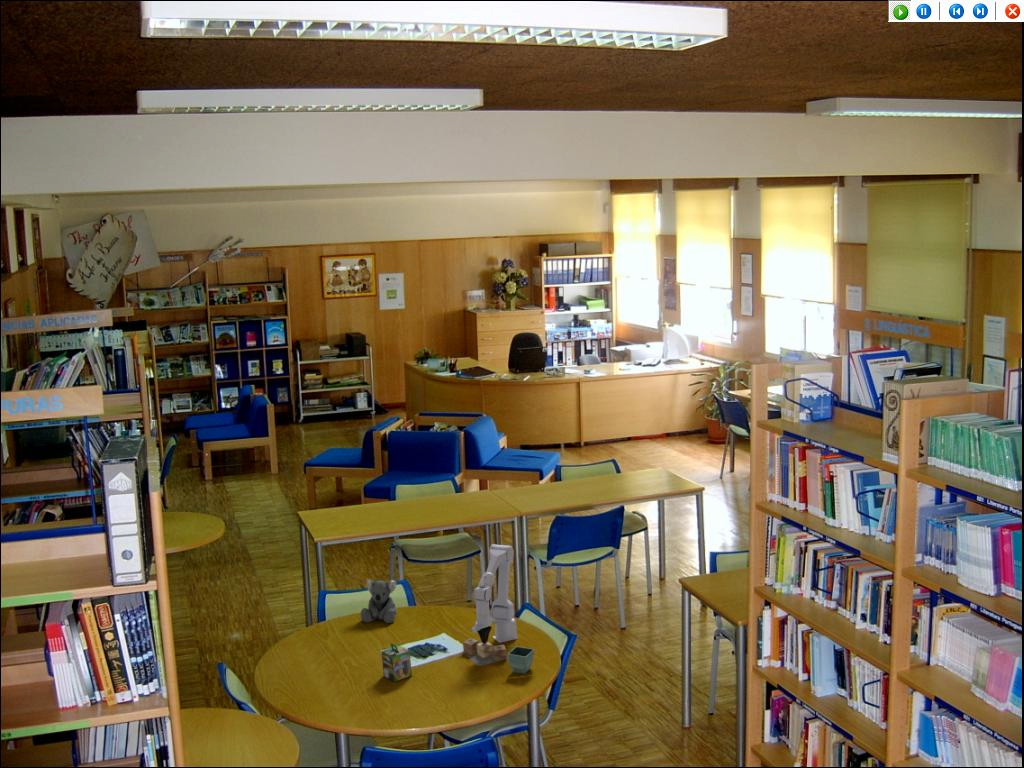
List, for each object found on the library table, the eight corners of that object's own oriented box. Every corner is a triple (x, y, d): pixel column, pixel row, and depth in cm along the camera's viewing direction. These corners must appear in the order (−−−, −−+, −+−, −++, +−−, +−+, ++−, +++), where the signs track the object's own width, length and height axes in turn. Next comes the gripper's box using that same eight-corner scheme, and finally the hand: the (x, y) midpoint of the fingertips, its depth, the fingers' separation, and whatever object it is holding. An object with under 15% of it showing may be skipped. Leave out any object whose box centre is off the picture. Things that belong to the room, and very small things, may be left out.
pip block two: (471, 648, 490) (470, 638, 489) (479, 651, 486) (478, 640, 486) (463, 652, 486) (463, 641, 485) (471, 655, 483) (471, 644, 482)
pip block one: (504, 655, 481) (504, 644, 480) (506, 660, 476) (505, 649, 475) (493, 656, 480) (492, 645, 479) (495, 661, 475) (494, 650, 474)
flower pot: (535, 668, 467) (534, 648, 465) (527, 676, 459) (526, 656, 457) (516, 665, 470) (515, 646, 469) (508, 674, 463) (507, 654, 461)
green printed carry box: (412, 676, 465) (410, 643, 462) (394, 682, 459) (392, 649, 457) (400, 669, 472) (398, 637, 469) (382, 676, 466) (380, 643, 464)
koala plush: (359, 623, 527) (356, 585, 523) (369, 610, 544) (367, 572, 541) (393, 624, 524) (391, 585, 520) (403, 610, 541) (401, 572, 538)
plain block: (486, 651, 486) (486, 640, 485) (492, 655, 482) (492, 644, 481) (477, 654, 483) (476, 643, 482) (483, 658, 479) (483, 647, 478)
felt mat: (492, 645, 493) (492, 644, 493) (509, 659, 477) (509, 658, 477) (462, 652, 487) (462, 651, 487) (478, 667, 471) (478, 666, 471)
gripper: (485, 606, 487) (486, 635, 490) (465, 617, 476) (467, 646, 478) (498, 609, 483) (499, 638, 486) (478, 620, 472) (480, 650, 474)
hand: (484, 642), depth 481 cm, fingers closed
